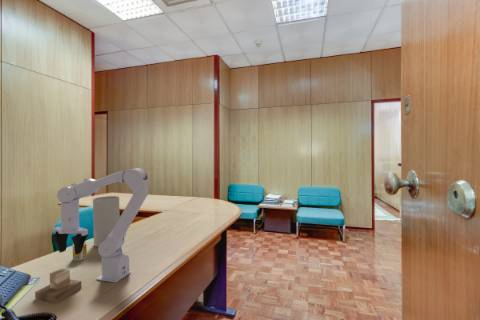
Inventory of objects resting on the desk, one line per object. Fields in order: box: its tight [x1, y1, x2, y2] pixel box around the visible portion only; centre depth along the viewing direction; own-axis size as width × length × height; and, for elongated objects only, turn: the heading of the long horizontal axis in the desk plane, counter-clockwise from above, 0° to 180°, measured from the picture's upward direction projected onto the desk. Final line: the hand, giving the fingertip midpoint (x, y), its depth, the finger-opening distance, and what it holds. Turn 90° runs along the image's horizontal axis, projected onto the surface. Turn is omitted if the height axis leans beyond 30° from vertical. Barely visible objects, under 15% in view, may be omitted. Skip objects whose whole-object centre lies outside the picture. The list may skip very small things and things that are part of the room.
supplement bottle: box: [71, 241, 88, 262], centre depth 109 cm, size 5×5×10 cm
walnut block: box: [34, 278, 82, 304], centre depth 81 cm, size 9×9×3 cm
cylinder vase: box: [92, 195, 121, 248], centre depth 128 cm, size 12×12×25 cm
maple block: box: [49, 268, 71, 290], centre depth 81 cm, size 4×4×5 cm
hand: (70, 252), depth 90 cm, fingers open, 7 cm apart
